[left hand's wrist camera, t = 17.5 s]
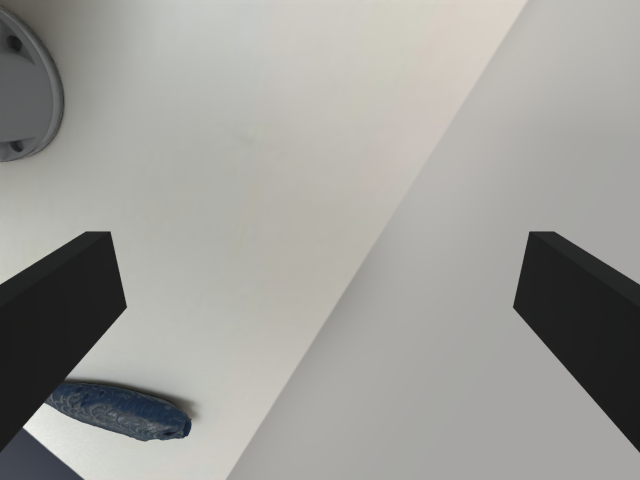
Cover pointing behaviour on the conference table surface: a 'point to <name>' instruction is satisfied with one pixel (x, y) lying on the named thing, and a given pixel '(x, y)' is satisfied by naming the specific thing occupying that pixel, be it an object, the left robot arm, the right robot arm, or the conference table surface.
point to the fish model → (121, 411)
